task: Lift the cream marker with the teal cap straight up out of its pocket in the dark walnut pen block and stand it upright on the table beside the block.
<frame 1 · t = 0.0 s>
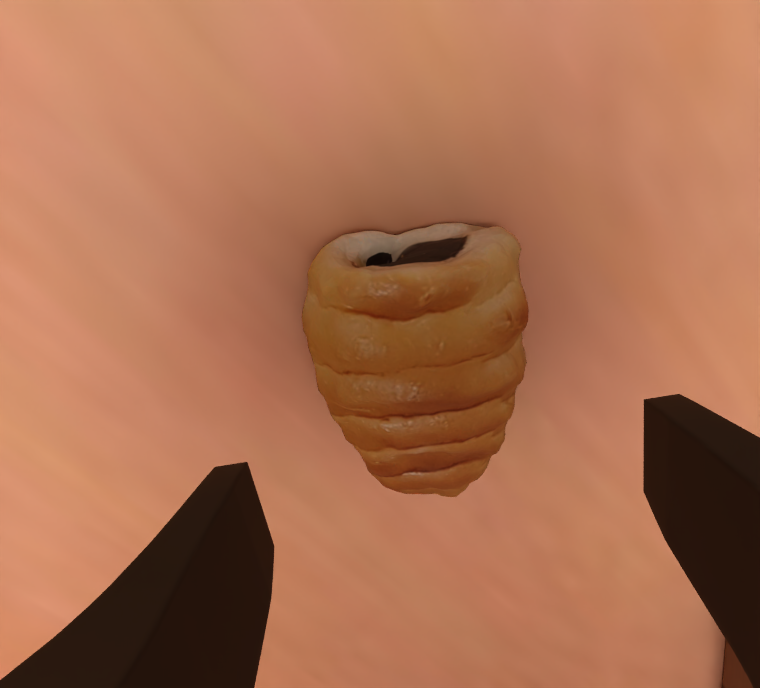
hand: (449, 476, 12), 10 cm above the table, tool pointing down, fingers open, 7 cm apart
pastry: (420, 332, 22), on the table
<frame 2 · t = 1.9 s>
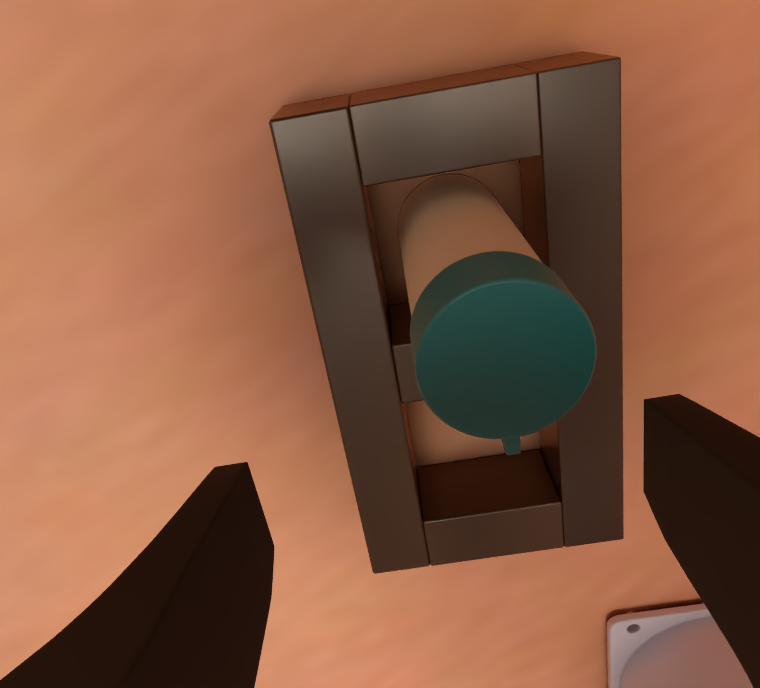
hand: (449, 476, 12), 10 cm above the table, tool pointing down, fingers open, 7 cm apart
marker: (449, 225, 21), resting in pen block
pen block: (460, 321, 22), on the table
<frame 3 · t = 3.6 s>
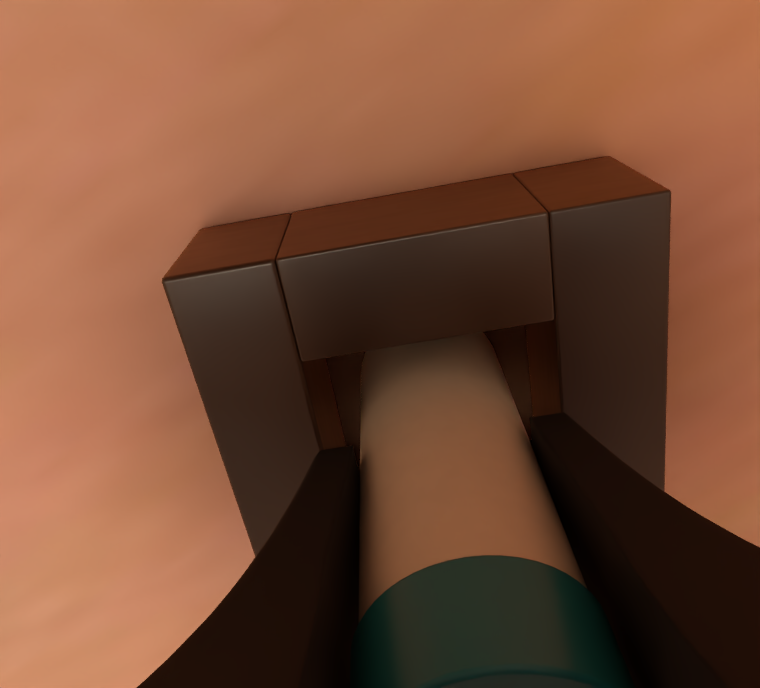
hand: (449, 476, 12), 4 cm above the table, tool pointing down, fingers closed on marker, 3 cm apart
marker: (428, 372, 16), resting in pen block, touching gripper
pen block: (447, 483, 17), on the table
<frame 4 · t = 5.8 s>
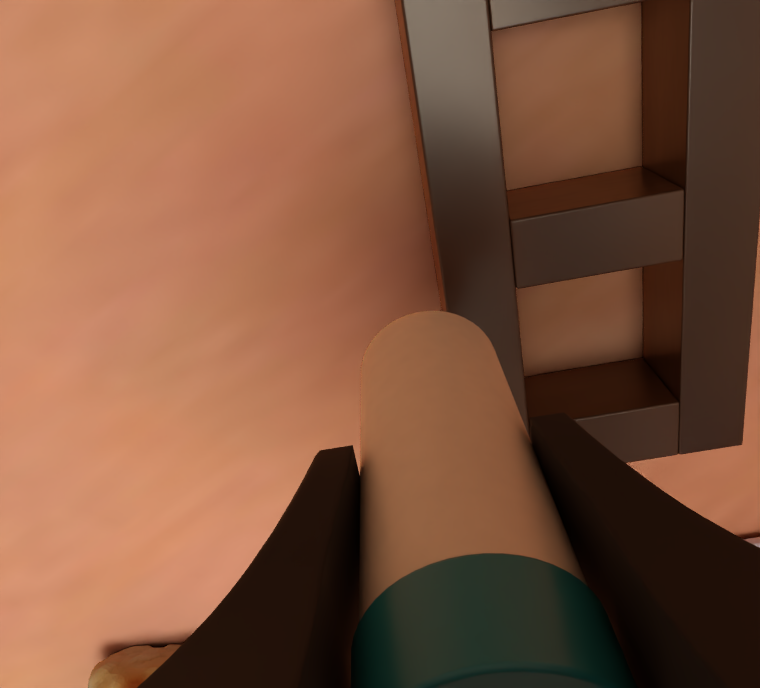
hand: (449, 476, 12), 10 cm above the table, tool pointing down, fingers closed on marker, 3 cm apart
marker: (428, 371, 16), point 6 cm above the table, touching gripper
pen block: (567, 211, 21), on the table
pastry: (198, 679, 30), on the table
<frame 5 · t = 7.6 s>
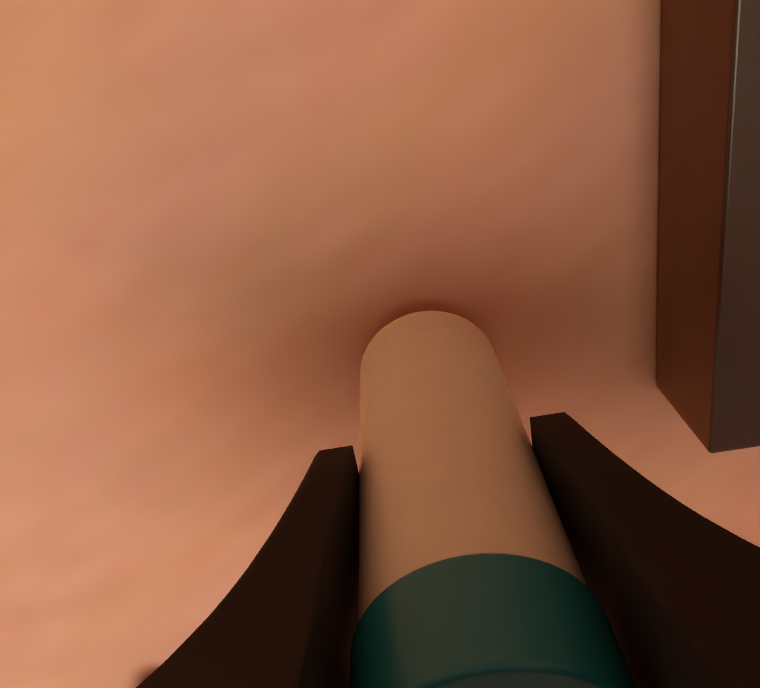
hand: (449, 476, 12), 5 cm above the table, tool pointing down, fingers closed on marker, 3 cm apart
marker: (428, 371, 16), point 1 cm above the table, touching gripper
when the fingers open (4 cm above the table, at t = 8.3 s): marker stays where it is, on the table.
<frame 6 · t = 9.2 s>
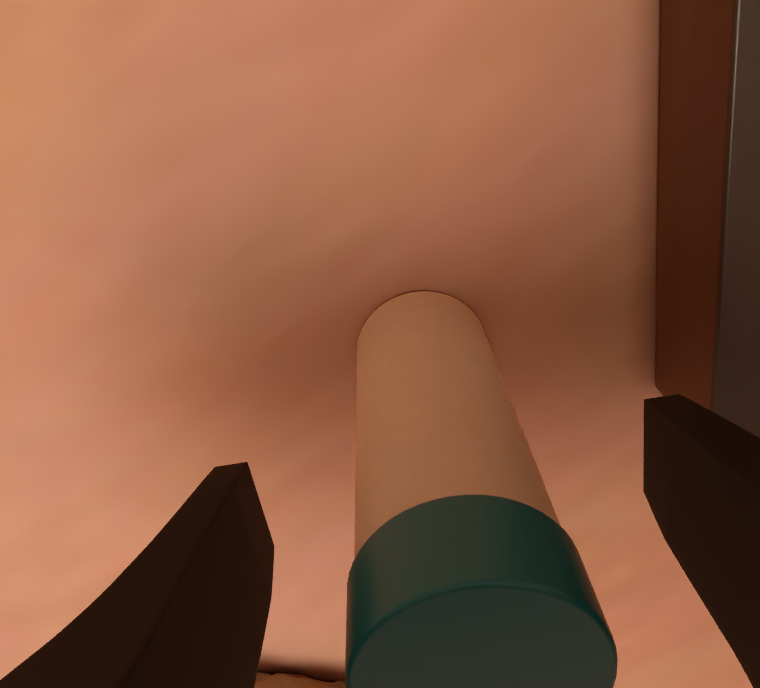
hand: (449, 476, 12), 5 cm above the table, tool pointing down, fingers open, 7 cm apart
marker: (421, 349, 16), on the table
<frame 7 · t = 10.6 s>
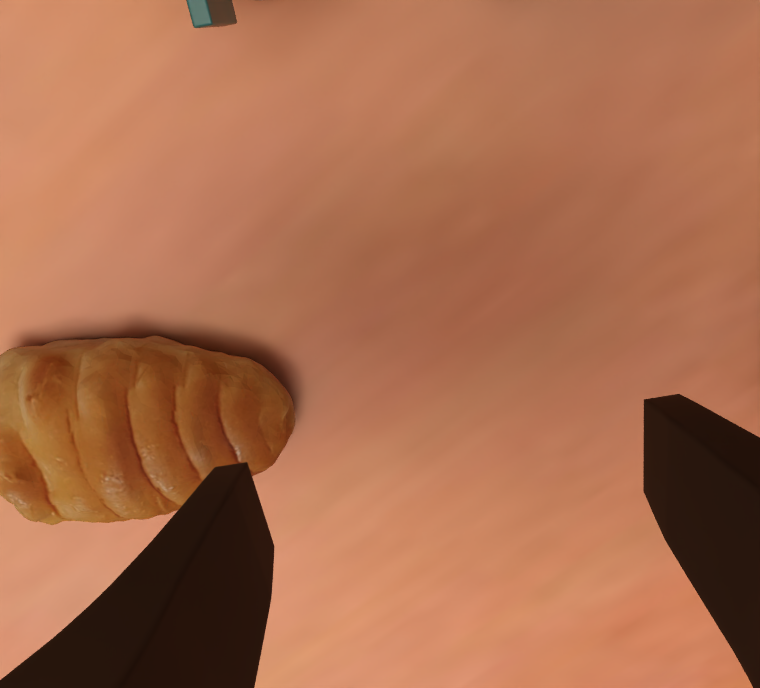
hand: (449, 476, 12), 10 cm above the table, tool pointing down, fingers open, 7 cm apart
pastry: (143, 400, 23), on the table
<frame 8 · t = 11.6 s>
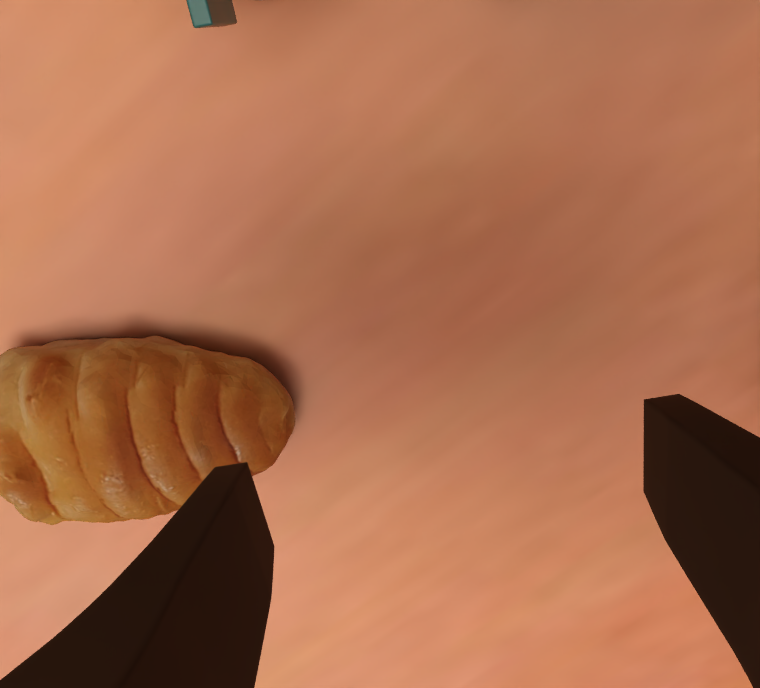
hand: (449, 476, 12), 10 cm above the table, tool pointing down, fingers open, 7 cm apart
pastry: (143, 400, 23), on the table
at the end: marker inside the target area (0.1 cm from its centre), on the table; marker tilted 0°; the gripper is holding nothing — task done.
